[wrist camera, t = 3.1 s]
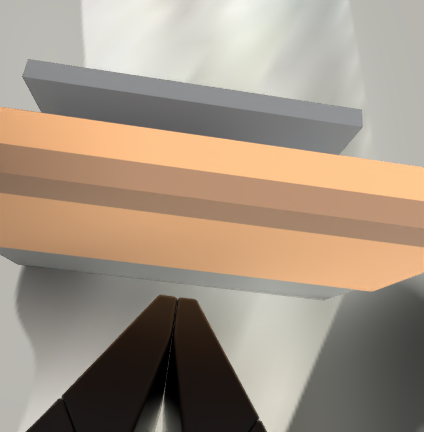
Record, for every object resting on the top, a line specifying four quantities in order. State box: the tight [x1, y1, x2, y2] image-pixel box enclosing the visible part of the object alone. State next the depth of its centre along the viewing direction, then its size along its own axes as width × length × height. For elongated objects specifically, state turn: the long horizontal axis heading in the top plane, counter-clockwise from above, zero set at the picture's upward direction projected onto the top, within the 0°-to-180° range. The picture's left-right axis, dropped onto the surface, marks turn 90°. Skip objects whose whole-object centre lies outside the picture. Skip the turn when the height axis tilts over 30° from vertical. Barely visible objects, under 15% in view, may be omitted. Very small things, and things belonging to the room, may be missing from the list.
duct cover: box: [0, 107, 424, 291], centre depth 11 cm, size 8×16×1 cm
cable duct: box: [0, 59, 363, 300], centre depth 19 cm, size 9×16×5 cm, turn 84°
